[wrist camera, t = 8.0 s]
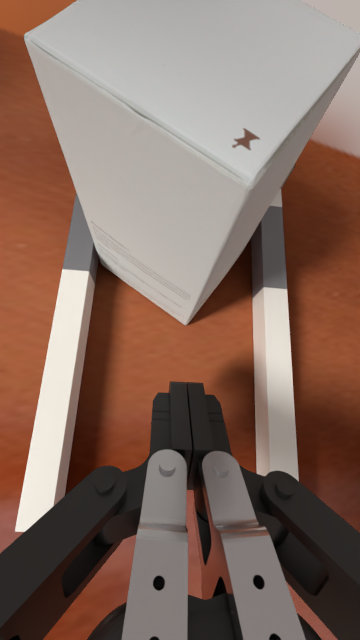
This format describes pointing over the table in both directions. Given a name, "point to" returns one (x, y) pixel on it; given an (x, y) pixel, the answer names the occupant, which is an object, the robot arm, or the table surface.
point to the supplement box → (184, 125)
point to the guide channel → (70, 345)
